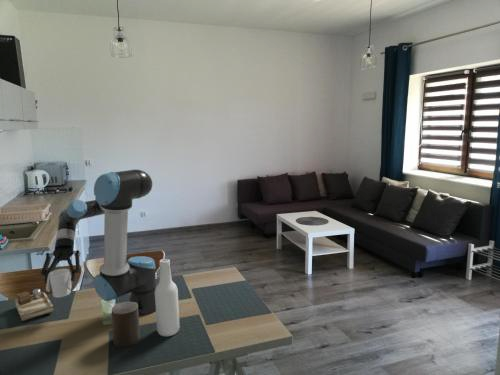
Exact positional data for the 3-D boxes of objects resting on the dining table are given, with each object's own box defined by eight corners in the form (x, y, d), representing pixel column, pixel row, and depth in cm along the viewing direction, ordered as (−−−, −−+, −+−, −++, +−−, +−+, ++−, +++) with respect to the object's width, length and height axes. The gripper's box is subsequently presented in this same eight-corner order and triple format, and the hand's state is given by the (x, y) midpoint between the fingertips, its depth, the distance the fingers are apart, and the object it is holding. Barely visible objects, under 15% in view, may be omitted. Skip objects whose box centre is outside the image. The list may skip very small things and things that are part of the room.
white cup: (63, 299, 151) (60, 276, 150) (47, 297, 153) (44, 275, 151) (76, 290, 159) (73, 268, 157) (60, 289, 160) (57, 268, 159)
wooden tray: (54, 314, 160) (53, 305, 159) (22, 324, 152) (21, 315, 151) (45, 299, 173) (44, 291, 172) (15, 307, 166) (14, 299, 165)
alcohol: (174, 338, 141) (170, 265, 135) (153, 336, 142) (148, 264, 137) (182, 325, 149) (179, 256, 144) (162, 324, 151) (158, 255, 146)
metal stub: (41, 298, 168) (40, 290, 167) (34, 300, 166) (33, 292, 165) (40, 295, 170) (39, 288, 170) (33, 297, 168) (32, 289, 168)
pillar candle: (125, 350, 134) (122, 313, 131) (108, 342, 139) (105, 306, 136) (145, 337, 142) (143, 302, 139) (128, 330, 147) (126, 295, 144)
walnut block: (31, 302, 165) (30, 293, 164) (21, 305, 162) (20, 297, 161) (28, 299, 167) (27, 291, 166) (18, 302, 164) (17, 294, 163)
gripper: (91, 242, 170) (86, 289, 157) (43, 246, 166) (34, 295, 153) (87, 235, 164) (82, 283, 151) (37, 239, 160) (28, 289, 147)
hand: (58, 289), depth 152 cm, fingers closed on white cup, 8 cm apart
